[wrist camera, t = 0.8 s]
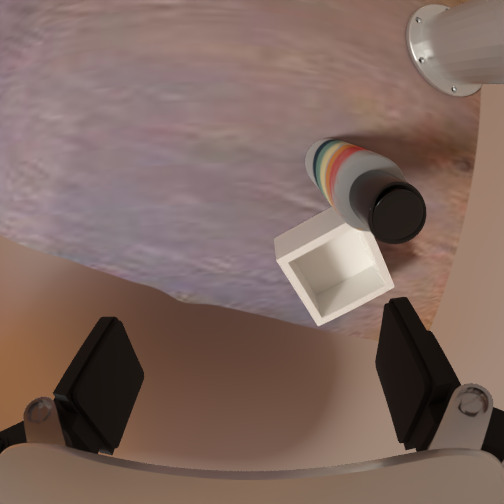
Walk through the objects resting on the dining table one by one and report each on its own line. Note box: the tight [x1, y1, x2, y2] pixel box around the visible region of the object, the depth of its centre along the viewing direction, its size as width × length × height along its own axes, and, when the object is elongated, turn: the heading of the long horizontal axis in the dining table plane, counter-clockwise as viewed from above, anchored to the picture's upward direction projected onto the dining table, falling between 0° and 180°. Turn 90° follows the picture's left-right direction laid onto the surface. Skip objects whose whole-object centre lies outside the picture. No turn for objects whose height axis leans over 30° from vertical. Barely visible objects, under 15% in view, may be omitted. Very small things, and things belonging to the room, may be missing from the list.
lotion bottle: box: [305, 138, 426, 244], centre depth 25 cm, size 6×6×20 cm
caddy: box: [274, 207, 395, 326], centre depth 36 cm, size 10×10×6 cm
